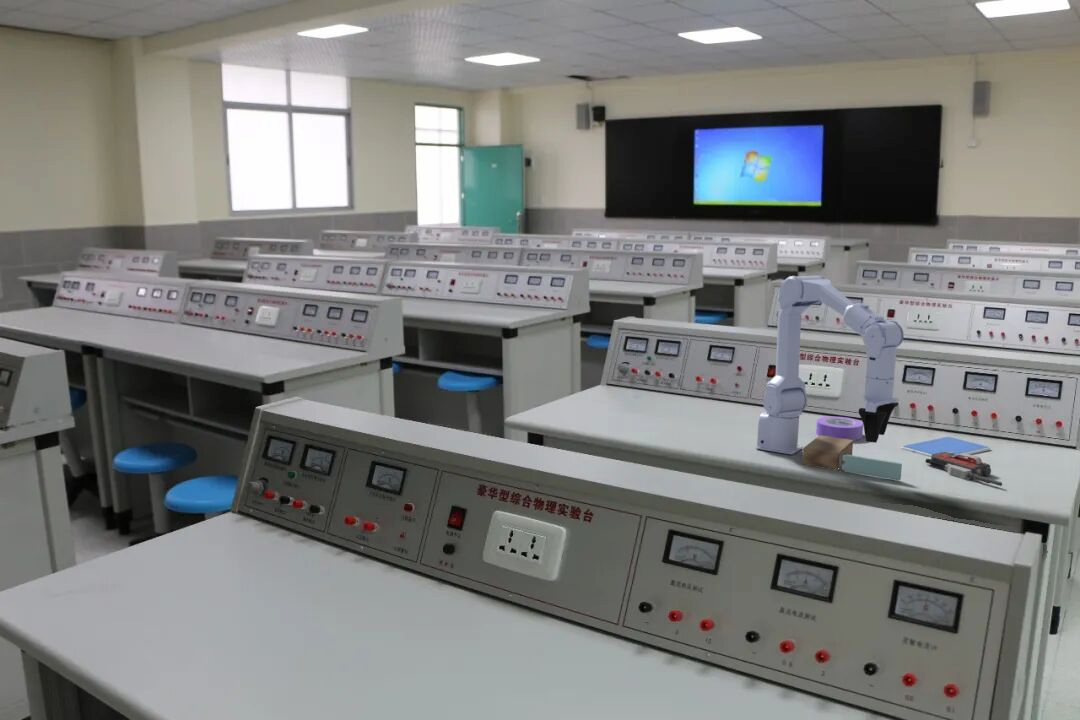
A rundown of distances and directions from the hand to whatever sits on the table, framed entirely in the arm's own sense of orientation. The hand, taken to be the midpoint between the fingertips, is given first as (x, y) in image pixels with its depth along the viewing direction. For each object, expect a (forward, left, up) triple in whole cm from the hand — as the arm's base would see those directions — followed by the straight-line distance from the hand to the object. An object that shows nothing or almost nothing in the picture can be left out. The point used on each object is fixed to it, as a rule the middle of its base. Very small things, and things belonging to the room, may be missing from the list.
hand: (875, 437), depth 193 cm
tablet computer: (+9, +38, -11) cm, 41 cm away
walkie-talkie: (+17, +18, -11) cm, 27 cm away
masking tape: (-17, +37, -10) cm, 42 cm away
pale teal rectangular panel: (-1, +4, -10) cm, 10 cm away
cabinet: (-13, +11, -10) cm, 20 cm away
